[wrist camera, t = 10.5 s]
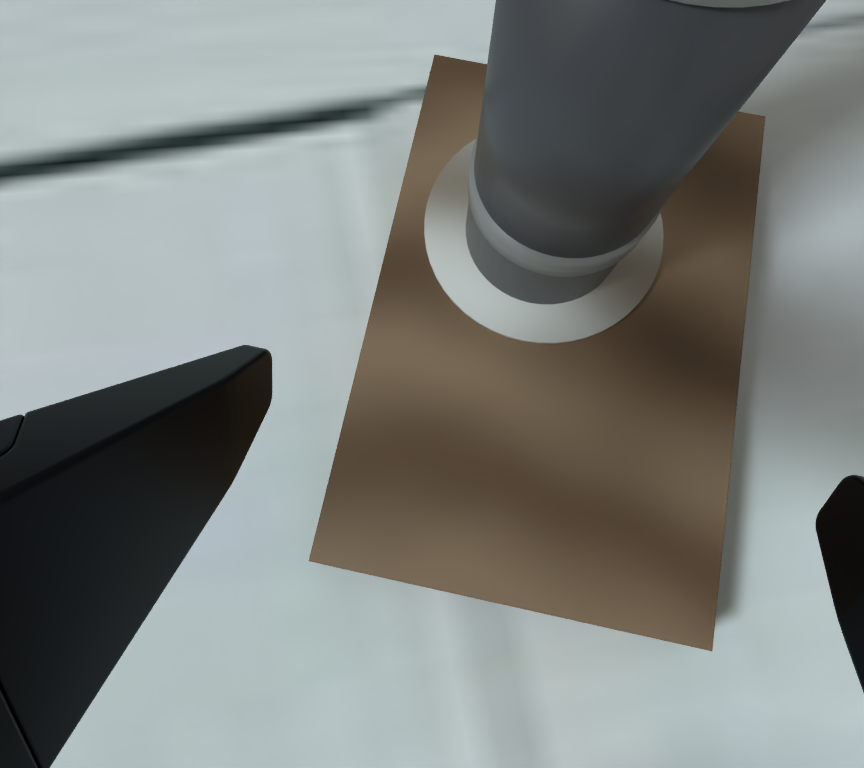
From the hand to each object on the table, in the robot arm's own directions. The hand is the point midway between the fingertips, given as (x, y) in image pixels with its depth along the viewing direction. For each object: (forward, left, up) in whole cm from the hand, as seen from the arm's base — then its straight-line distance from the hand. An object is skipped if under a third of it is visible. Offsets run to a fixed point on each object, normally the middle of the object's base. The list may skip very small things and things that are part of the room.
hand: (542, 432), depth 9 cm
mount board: (+5, -1, -10) cm, 11 cm away
